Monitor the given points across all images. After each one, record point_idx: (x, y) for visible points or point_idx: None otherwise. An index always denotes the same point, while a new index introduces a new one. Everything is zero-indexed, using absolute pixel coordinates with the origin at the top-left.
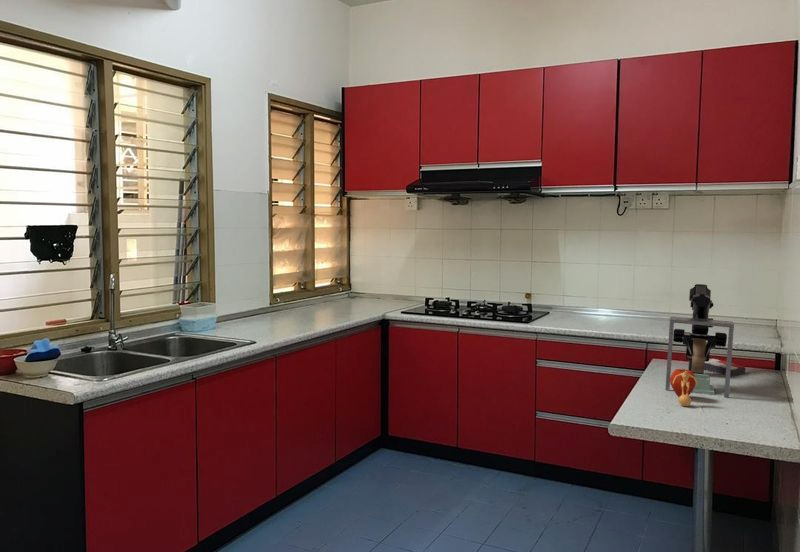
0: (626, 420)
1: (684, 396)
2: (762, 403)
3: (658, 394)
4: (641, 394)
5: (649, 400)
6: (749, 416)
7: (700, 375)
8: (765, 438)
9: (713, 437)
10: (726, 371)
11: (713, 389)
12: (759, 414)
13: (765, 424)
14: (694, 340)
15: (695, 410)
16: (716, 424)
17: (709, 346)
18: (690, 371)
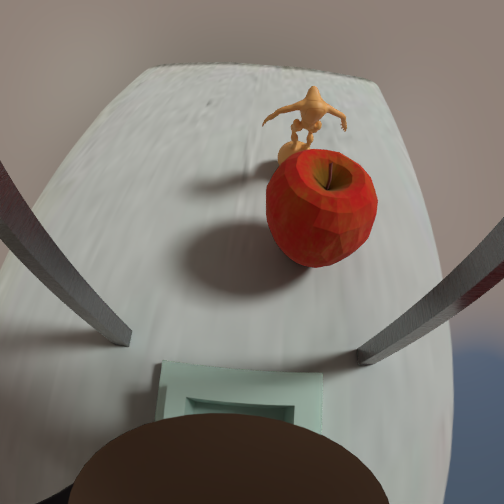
0: (371, 91)
1: (299, 141)
2: (34, 291)
3: (383, 268)
4: (422, 245)
5: (386, 192)
6: (136, 151)
7: None
8: (168, 77)
9: (246, 65)
10: (79, 275)
11: (157, 414)
12: (102, 174)
13: (129, 121)
14: (365, 478)
15: (264, 148)
16: (230, 95)
17: (69, 491)
18: (299, 164)
